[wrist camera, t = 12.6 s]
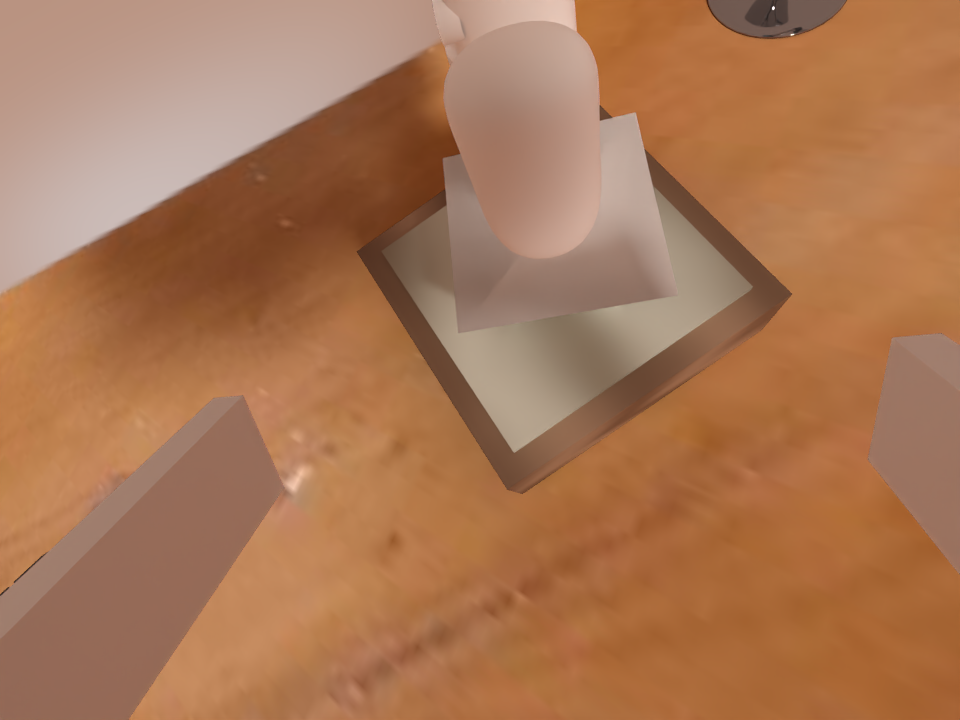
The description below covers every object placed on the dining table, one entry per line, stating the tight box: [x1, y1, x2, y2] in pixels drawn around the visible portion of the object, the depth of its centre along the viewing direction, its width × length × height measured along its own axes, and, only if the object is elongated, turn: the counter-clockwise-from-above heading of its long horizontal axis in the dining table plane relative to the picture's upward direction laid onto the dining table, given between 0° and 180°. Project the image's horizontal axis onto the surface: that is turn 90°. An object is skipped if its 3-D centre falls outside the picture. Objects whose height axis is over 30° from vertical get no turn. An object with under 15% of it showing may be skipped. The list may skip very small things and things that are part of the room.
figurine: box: [432, 0, 678, 333], centre depth 15 cm, size 7×9×15 cm
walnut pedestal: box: [357, 105, 792, 494], centre depth 24 cm, size 13×13×4 cm
